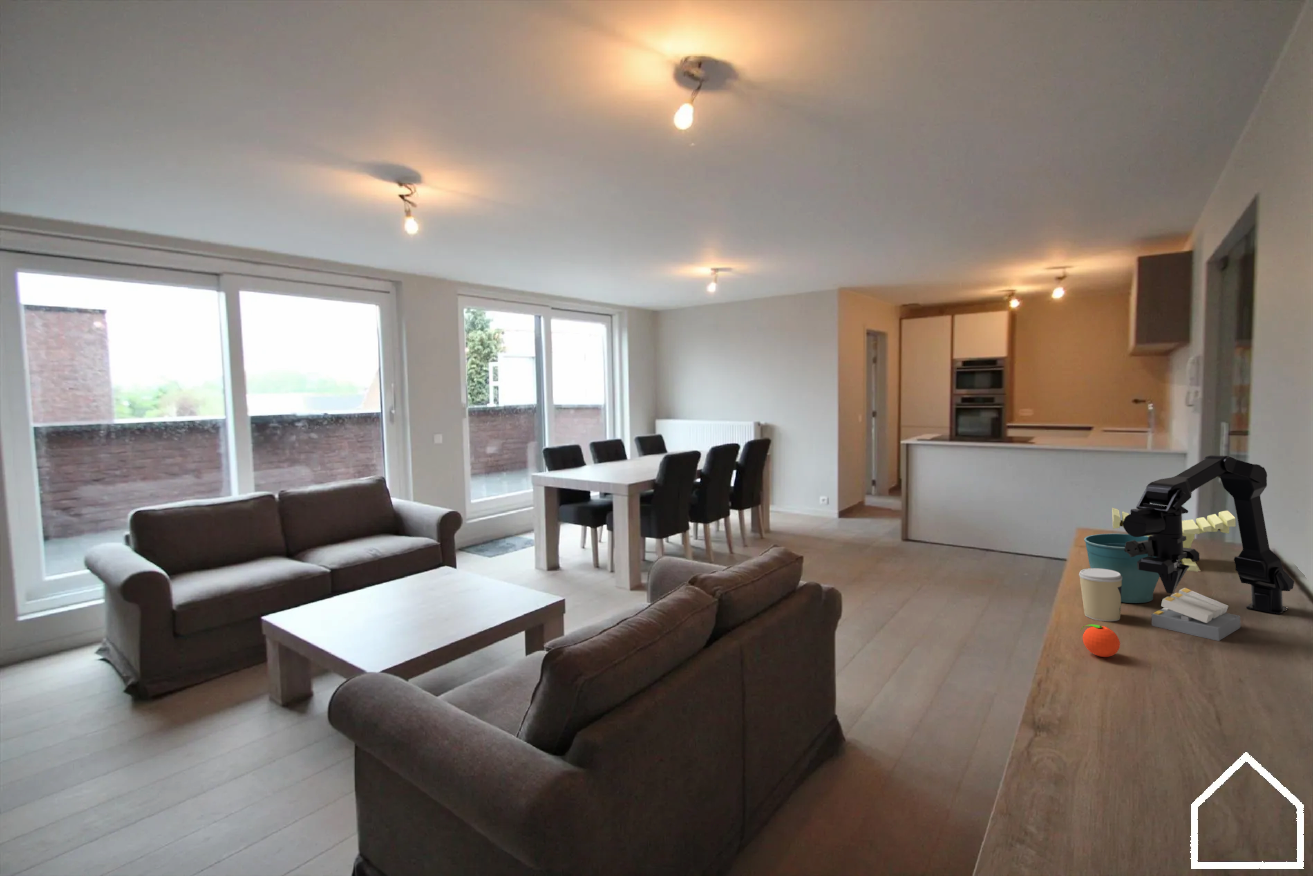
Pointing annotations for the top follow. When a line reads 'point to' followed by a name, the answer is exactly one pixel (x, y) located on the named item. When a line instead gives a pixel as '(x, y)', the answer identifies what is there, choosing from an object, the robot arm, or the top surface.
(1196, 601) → the rocker middle
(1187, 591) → the block
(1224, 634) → the console
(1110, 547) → the flower pot
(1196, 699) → the top surface
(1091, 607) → the coffee cup
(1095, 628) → the clementine
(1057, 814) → the top surface
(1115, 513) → the slatted curved stool
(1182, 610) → the block
